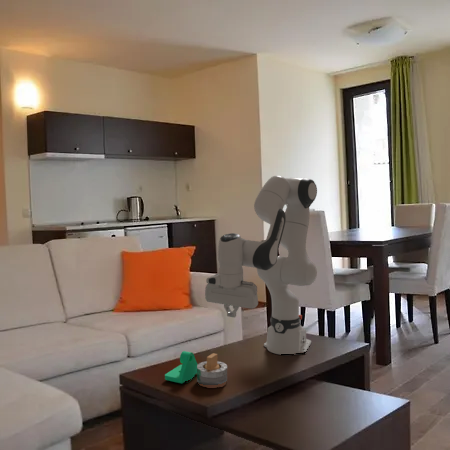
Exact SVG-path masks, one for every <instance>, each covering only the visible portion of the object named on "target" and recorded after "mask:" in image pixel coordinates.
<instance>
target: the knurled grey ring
mask: <svg viewBox="0 0 450 450" xmlns="http://www.w3.org/2000/svg"><path fill="white" fill-rule="evenodd" d="M197 364H198V365H197V374H196V383H197V382H198V383H199V384H203V385H218V384H222V383H224V382H226V381H227V382H228V365H227V364H226V363H225V362H223V361H219V360H218V365H219V369H217V370H207V369H205V365H207V360H206V361H202V362H199V363H197Z"/></svg>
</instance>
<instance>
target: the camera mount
mask: <svg viewBox="0 0 450 450" xmlns="http://www.w3.org/2000/svg"><path fill="white" fill-rule="evenodd" d="M179 362H180V364H179V365H178V366H176V367H174V368H173V369H172V370H170V371H168V372H167V373H165V374H164V380H166V381H170V382H174V383H178V384H184V383H185V381H188V380H190V379H191V380H193V379H194V378H195V375H197V365H198V364H199V363H198V362H197V360H196V357H195V354H194V352H191V351H185V350H183V351H181V353H180V355H179ZM193 377H194V378H193ZM192 378H193V379H192ZM191 380H190V381H191Z"/></svg>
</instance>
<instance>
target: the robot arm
mask: <svg viewBox="0 0 450 450" xmlns="http://www.w3.org/2000/svg"><path fill="white" fill-rule="evenodd" d="M317 194H318V188H317V184H316V182H315V181H314V180H313V179H311V178H307V177H303V178H302V177H301V178H300V177H286V178H285V177H284V176H281V175H274V176H271V177H270V178H269V179H268V180H267V181H266V182H265V183H264V185H263V186H262V187H261V189H260V191H259V192H258V194H257V196H256V198H255V201H254V204H253V206H254V207H253V208H254V211H255V214H256V215H257V217H258V218H259V219H260V220H261V221H263V222H265V223H266V224H269V229H268V232H267V235H266V238H265V239H264V240H261V241H258V240H257V241H256V240H250V239H245V238H242V237H241V235H240V234H239V233H232V232H231V233H226V234H224V235H221V236H220V237H219V241H218V247H217V261H218V264H219V265H218V266H219V267H218V270H217V271H218V273H215V274H213V275H210V276H209V277H207V278H206V285H205V290H204V291H205V292H204V296H205V301H206V302H207V303H213V304H219V305H223V308H224V310H225V311H226V316H227V317H229V318H236V317H237V312H238V311H239V308H243V309H251V310H252V309H253V310H254V309H255V308H257V306H258V305H259V298H258V297H259V296H258V285H256V284H255V283H254V282H253V281H246V280H244V268H243V267H248V268H255V269H256V273H257V275H258V277H259V279H261V281H263V282H264V285H266V287H267V289H268V291H269V293H270V298H271V315H270V326H268V327H267V334H266V342H264V343H263V347H265V348H266V349H267V351H268V352H270V353H273V354H276V355H281V354H294V353H300V352H306V351H307V352H308V350H309V349H310V347H311V344H312V340H311V339H308V338H307V331H306V329H305V328H304V327H303V326H302V324H301V320H302V319H303V315H302V314H300V313H299V312H300V301H299V297H298V296H297V295H296V294H295V293H294V292H293V291H291V289H290V287H289V286H288V285H290V286H297V287H303V286H304V287H305V286H306V287H307V286H311V285H312V284H314V283H315V281H316V278H317V275H318V269H317V267H316V265H315V263H314V262H313V261H312V260H311V259H310V257H309V255H308V251H307V249H306V248H307V237H308V231H309V226H310V206H312V204H313V203H314V201H315V200H316V197H317ZM285 205H286V209H285V211H284V208H285ZM280 246H281V247H282V248H284V249H285V250H286V251H287V255H288V256H287V257H286V256H279V248H280ZM230 306H232V309H233V310H231V308H230ZM309 346H310V347H309ZM307 349H308V350H307ZM307 352H306V353H307ZM294 355H295V354H294Z"/></svg>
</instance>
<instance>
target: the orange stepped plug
mask: <svg viewBox="0 0 450 450" xmlns="http://www.w3.org/2000/svg"><path fill="white" fill-rule="evenodd" d="M218 359H219V358H218V353H214V352H213V353H211V354H210V355H208V356H206V361H207V365H205V369H207V370H217V369H219V365H218V361H219V360H218Z"/></svg>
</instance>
